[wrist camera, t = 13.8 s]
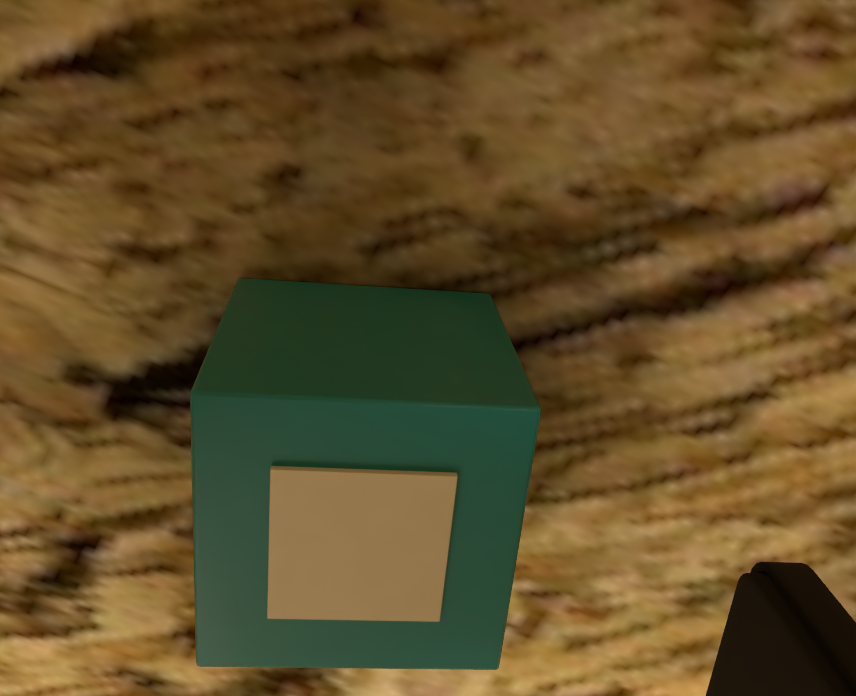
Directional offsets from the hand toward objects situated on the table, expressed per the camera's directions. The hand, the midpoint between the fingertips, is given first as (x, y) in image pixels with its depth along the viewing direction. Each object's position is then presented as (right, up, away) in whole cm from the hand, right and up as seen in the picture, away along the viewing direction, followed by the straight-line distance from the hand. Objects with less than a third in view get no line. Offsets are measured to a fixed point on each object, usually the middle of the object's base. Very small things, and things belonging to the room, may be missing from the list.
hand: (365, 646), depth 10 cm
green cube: (0, +3, +5) cm, 6 cm away
